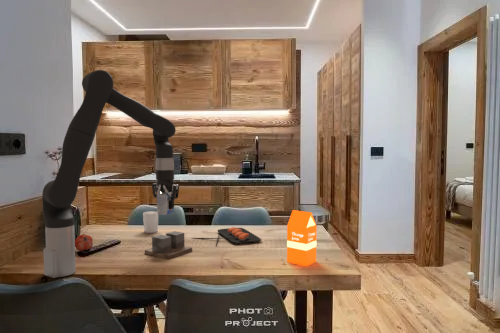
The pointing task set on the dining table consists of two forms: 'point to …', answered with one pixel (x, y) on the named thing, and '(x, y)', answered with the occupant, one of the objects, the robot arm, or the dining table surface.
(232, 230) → the sushi plate
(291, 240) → the orange juice
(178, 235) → the display stand
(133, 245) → the dining table surface
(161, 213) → the medicine box
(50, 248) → the robot arm
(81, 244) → the red tomato
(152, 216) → the white cup
